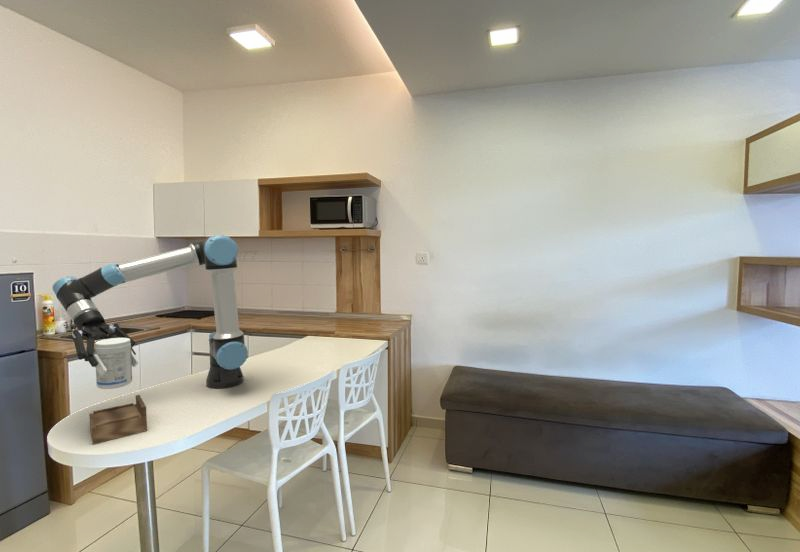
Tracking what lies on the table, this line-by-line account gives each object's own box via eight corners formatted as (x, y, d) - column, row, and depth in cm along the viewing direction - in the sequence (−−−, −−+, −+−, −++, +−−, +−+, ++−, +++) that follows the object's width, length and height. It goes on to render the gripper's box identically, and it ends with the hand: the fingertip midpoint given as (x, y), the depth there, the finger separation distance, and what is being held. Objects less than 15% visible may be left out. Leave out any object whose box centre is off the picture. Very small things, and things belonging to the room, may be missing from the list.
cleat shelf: (140, 416, 139) (139, 394, 138) (147, 430, 128) (146, 406, 128) (90, 428, 130) (88, 404, 129) (92, 444, 119) (91, 418, 119)
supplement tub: (108, 380, 133) (107, 337, 132) (138, 379, 134) (137, 337, 133) (89, 390, 123) (87, 344, 122) (121, 389, 124) (119, 343, 123)
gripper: (115, 318, 143) (147, 366, 138) (41, 329, 122) (77, 386, 118) (124, 305, 141) (158, 353, 136) (52, 313, 120) (88, 370, 116)
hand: (120, 368), depth 127 cm, fingers closed on supplement tub, 10 cm apart
